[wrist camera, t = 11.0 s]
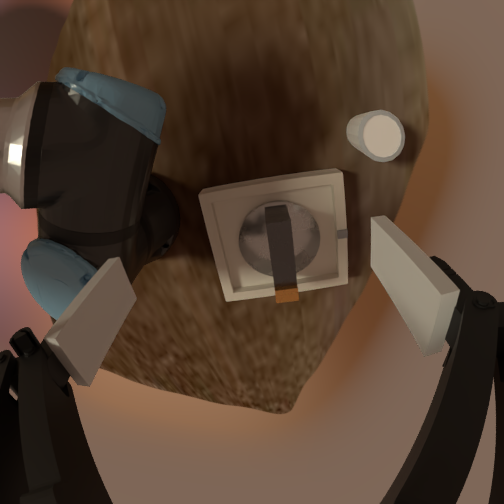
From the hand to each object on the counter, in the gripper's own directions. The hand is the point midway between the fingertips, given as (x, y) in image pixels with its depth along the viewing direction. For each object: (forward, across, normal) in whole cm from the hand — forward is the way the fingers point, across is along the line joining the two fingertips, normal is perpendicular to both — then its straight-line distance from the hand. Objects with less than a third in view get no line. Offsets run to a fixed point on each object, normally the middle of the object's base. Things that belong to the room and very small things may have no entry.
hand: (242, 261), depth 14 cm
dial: (+26, +2, -11) cm, 29 cm away
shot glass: (+29, +17, +3) cm, 34 cm away
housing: (+29, +2, -11) cm, 31 cm away
